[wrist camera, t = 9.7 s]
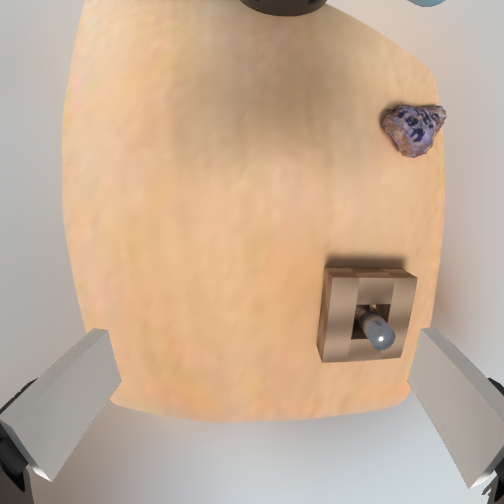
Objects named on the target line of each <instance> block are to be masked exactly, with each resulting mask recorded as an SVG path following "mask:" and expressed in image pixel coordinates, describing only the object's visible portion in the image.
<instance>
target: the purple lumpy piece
mask: <svg viewBox="0 0 504 504" xmlns="http://www.w3.org/2000/svg"><path fill="white" fill-rule="evenodd" d="M445 118H446V111H445V110H444V109H443V108H442V106H427V107H416V108H415V107H412V106H409V105H401V106H397V107H395V109H394V111H393V110H390V109H389V110H388V111H387V113H386V116H385V117H384V120H383V122H382V124H383V126H384V127H385V133H389V134H390V135H391V137H392V138H393V140H394V141H395V142H396V143H397V151H398V152H401V153H402V156H406V157H412V158H414V157H417V156H419V155H422V154H426V153H427V151H428V149H430V148H431V147H432V146H433V140H434V136H436V134H437V132H438V131H439V130H440V128H441V126H442V125H443V123H444V120H445Z"/></svg>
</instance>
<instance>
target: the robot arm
mask: <svg viewBox="0 0 504 504" xmlns="http://www.w3.org/2000/svg"><path fill="white" fill-rule="evenodd" d="M241 1H242V2H243V3H244V4H245V5H247V6H248V7H250V8H252V9H254V10H256V11H259V12H262V13H266V14H270V15H277V16H297V15H303V14H307V13H310V12H313V11H315V10H317V9H319V8H320V7H321V6H323V5H324V4H325V2H326V1H327V0H241ZM409 1H410V2H412V3H414V4H416V5H418V6H422V7H431V6H435V5H438V4H440V3H442V2H443V1H445V0H409ZM407 382H408V383H409V385H410V387H411V388H412V390H413V391H414V393H415V395H416V396H417V398H418V399H419V401H420V403H421V405H422V406H423V408H424V409H425V411H426V413H427V414H428V416H429V418H430V419H431V421H432V423H433V425H434V426H435V428H436V430H437V432H438V433H439V435H440V436H441V438H442V440H443V442H444V444H445V446H446V447H447V449H448V451H449V453H450V455H451V457H452V458H453V460H454V462H455V464H456V466H457V467H458V469H459V471H460V473H461V475H462V477H463V479H464V481H465V483H466V485H467V487H468V489H471V488H473V487H475V486H477V485H479V484H480V483H482V482H484V481H486V480H487V478H488V477H489V476H490V475H491V474H492V472H493V471H494V470H495V472H496V473H497V476H496V477H495V478H494V479H493V480H492V482H491V483H490V484H489V485H488V486H487V487H486V488H485V489H484V491H483V493H482V495H485V494H486V492H487V491H488V490H489V489H490V488H491V487H492V488H491V492H490V493H489V494H488V495H489V500H488V503H487V504H504V387H503V386H502V385H501V384H500V383H498V382H496V381H494V380H493V379H491V378H488V379H487V378H486V377H485V376H484V375H483V374H482V373H481V371H480V370H478V368H477V367H476V366H475V365H474V364H473V363H472V362H471V361H470V360H469V359H468V358H467V357H466V356H465V355H464V354H463V353H462V352H461V351H459V349H458V348H457V347H456V346H455V345H454V344H453V343H452V342H450V341H449V339H447V338H446V337H445V336H444V335H443V334H442V333H441V332H440V331H439V330H438V329H437V328H436V327H431V328H424V329H421V331H420V336H419V340H418V344H417V348H416V352H415V356H414V360H413V364H412V367H411V371H410V374H409V378H408V381H407ZM120 383H121V377H120V374H119V371H118V367H117V364H116V360H115V357H114V353H113V349H112V345H111V341H110V337H109V333H108V330H103V329H95V328H94V329H93V330H91V331H90V332H89V333H88V334H87V335H86V336H85V337H84V338H82V339H81V340H80V341H79V342H78V343H77V344H75V346H73V347H72V348H71V349H70V350H69V351H68V352H66V353H65V354H64V355H63V356H62V357H61V358H60V359H59V360H58V361H56V362H55V363H54V364H53V365H52V366H51V367H50V368H49V369H48V370H46V371H45V372H44V373H43V374H42V375H41V376H40V377H39V378H37V379H35V380H33V381H31V382H29V383H28V384H27V385H26V386H24V387H23V388H22V389H21V392H18V393H17V394H16V395H15V397H14V398H12V399H11V400H10V401H9V402H8V403H6V404H5V405H4V406H3V407H2V408H1V409H0V504H34V502H33V496H32V491H31V485H30V478H29V473H28V470H27V469H26V468H25V467H26V466H27V465H28V463H29V465H30V466H31V467H32V468H33V470H34V471H35V472H36V473H37V474H38V475H40V476H42V477H44V478H45V479H47V480H49V481H51V482H52V481H53V480H54V478H55V476H56V475H57V473H58V472H59V470H60V469H61V467H62V466H63V464H64V463H65V461H66V460H67V458H68V457H69V456H70V454H71V453H72V451H73V450H74V448H75V447H76V445H77V444H78V442H79V441H80V439H81V438H82V436H83V435H84V434H85V432H86V431H87V429H88V428H89V426H90V425H91V423H92V422H93V421H94V419H95V418H96V416H97V415H98V413H99V412H100V411H101V409H102V408H103V406H104V405H105V404H106V402H107V401H108V399H109V398H110V397H111V395H112V394H113V392H114V391H115V390H116V388H117V387H118V385H119V384H120Z"/></svg>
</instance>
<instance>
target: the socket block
mask: <svg viewBox="0 0 504 504" xmlns="http://www.w3.org/2000/svg"><path fill="white" fill-rule="evenodd" d="M416 284H417V277H415V276H413V275H412V274H410V273H408V272H407V271H405V270H403V269H392V268H335V267H325V269H324V281H323V292H322V302H321V312H320V321H319V330H318V338H317V348H318V351H319V354H320V358H321V361H322V363H324V362H349V361H366V360H379V359H390V358H400V357H401V354H402V350H403V346H404V342H405V338H406V334H407V330H408V325H409V321H410V316H411V311H412V306H413V301H414V296H415V290H416ZM364 304H376V309H375V310H376V311H377V312H378V313H379V314H380V316H381V317H382V318H383V319H384V320H385V321H386V322H387V324H388V325H389V326H390V327H391V328H392V329H393V331H394V332H395V341H394V343H393V344H392V345H391V346H390V347H389V348H388V349H386V350H382V351H379V350H376V349H375V348H374V347H373V345H372V344H371V342H370V341H369V339H368V338H367V336H366V335H365V333H364V332H363V330H362V329H361V327H360V325H359V324H358V323H357V324H353V323H354V316H355V310H356V305H364Z"/></svg>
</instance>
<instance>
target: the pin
mask: <svg viewBox="0 0 504 504" xmlns="http://www.w3.org/2000/svg"><path fill="white" fill-rule="evenodd" d="M354 318H355V319H356V321H357V322H358V324H359V325H360V327H361V329H362V330H363V332H364V333H365V335H366V336H367V338H368V339H369V341H370V342H371V344H372V345H373V347H374V348H375V349H376V350H379V351H382V350H386V349H388V348H389V347H390V346H391V345H392V344H393V343H394V341H395V332H394V331H393V329H392V328H391V327H390V326H389V325H388V324H387V322H386V321H385V320H384V319H383V318H382V317H381V316H380V314H379V313H378V312H377V311H376V310H375V309H374V308H373V306H372V305H371V304H364V305H356V310H355V316H354Z"/></svg>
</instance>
